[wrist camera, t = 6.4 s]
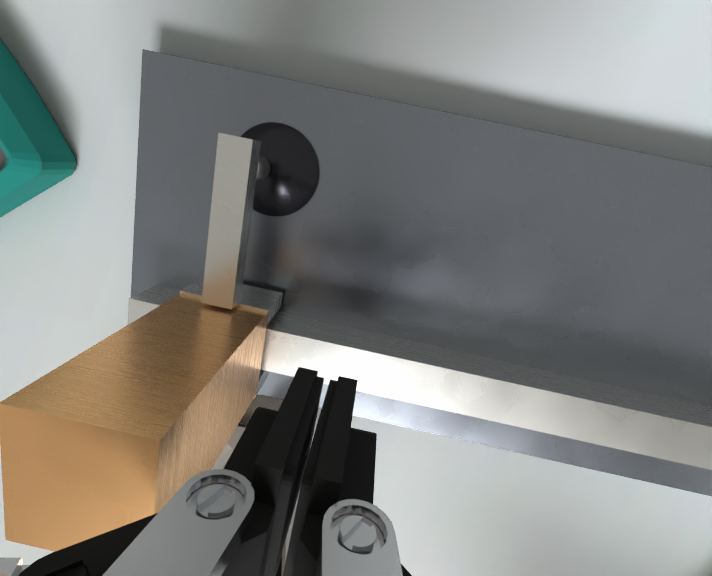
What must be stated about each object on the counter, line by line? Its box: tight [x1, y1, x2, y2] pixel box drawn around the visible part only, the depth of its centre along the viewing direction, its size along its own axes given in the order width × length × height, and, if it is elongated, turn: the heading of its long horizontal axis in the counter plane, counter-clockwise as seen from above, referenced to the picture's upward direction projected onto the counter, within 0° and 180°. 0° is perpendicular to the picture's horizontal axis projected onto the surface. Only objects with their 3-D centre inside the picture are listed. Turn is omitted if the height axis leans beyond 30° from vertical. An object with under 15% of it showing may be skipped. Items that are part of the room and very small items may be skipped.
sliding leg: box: [0, 133, 283, 551], centre depth 12 cm, size 3×9×9 cm, turn 169°
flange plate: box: [131, 49, 712, 496], centre depth 16 cm, size 30×12×1 cm, turn 79°
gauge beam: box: [128, 285, 712, 470], centre depth 14 cm, size 28×8×4 cm, turn 79°
